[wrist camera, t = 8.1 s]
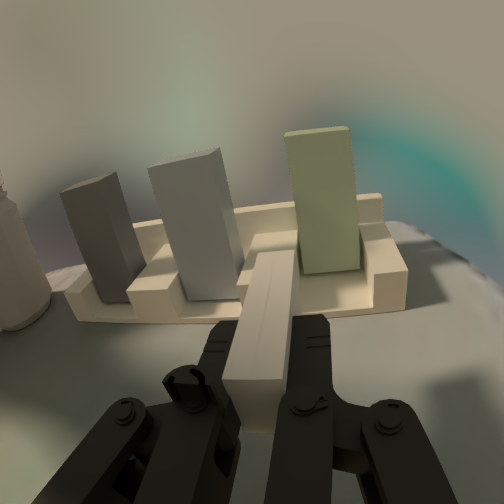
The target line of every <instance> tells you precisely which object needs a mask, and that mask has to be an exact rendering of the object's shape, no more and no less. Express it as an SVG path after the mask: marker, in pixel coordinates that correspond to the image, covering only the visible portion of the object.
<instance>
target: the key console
mask: <svg viewBox="0 0 504 504" xmlns="http://www.w3.org/2000/svg"><path fill="white" fill-rule="evenodd" d="M356 197H357V211H358V228H359V252H360V269H355V270H345V271H334V272H322V273H311V274H304V269H303V261H302V254H301V246H300V239H299V231H298V224H297V217H296V210H295V204H294V201H292V202H283V203H274V204H266V205H258V206H250V207H243V208H234V214H235V218H236V223H237V227H238V231H239V236H240V240H241V245H242V249H243V254H244V258H245V263H244V265H243V268H242V271H241V274H240V276H239V279H238V282H237V285H236V286H237V290H238V294H239V298H236V299H216V300H192V301H189V300H188V298H187V295H186V292H185V289H184V286H183V283H182V280H181V277H180V274H179V272H178V269H177V266H176V263H175V260H174V256H173V253H172V250H171V247H170V244H169V241H168V238H167V235H166V231H165V228H164V225H163V222H162V219H158V220H152V221H146V222H140V223H134V224H133V227H134V230H135V233H136V236H137V239H138V242H139V245H140V248H141V250H142V253H143V256H144V259H145V261H146V264H147V266H146V267H145V268H144V269H143V270H142V272H141V273H140V274H139V275H138V277H137V278H136V279H135V280H134V281H133V283H132V284H131V285H130V286H129V288H128V289H127V290H126V293H127V295H128V297H129V300H130V302H106V303H103V301H102V299H101V297H100V294H99V292H98V290H97V288H96V286H95V284H94V281H93V279H92V277H91V275H90V272H89V270H88V269H87V270H86V271H85V272H84V273H83V274H82V275H81V276H80V277H79V278H78V279H77V280H76V281H75V282H74V283H73V284H72V285H71V286H70V287H69V288H68V289H67V290H66V291H65V292H64V295H65V297H66V299H67V301H68V303H69V305H70V307H71V309H72V311H73V313H74V314H75V316H76V318H77V320H78V321H86V322H108V323H145V324H209V323H218V322H219V321H223V320H239V317H240V314H241V310H242V307H243V304H244V300H245V297H246V293H247V290H248V286H249V283H250V279H251V276H252V272H253V269H254V265H255V262H256V258H257V255H258V253H263V252H273V251H284V250H295V257H296V264H297V271H298V279H299V286H300V294H301V302H302V309H301V315H313V314H323V315H324V316H325V318H332V317H344V316H355V315H365V314H375V313H384V312H393V311H402V310H405V302H406V292H407V281H408V269H407V267H406V265H405V263H404V260H403V258H402V256H401V254H400V252H399V250H398V248H397V246H396V244H395V242H394V240H393V238H392V237H391V235H390V233H389V231H388V229H387V227H386V225H385V223H384V217H383V216H384V214H383V197H382V196H381V194H380V193H374V194H363V195H356Z"/></svg>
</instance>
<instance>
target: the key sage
mask: <svg viewBox="0 0 504 504" xmlns="http://www.w3.org/2000/svg"><path fill="white" fill-rule="evenodd" d="M284 141H285V147H286V153H287V159H288V165H289V171H290V177H291V184H292V190H293V197H294V204H295V210H296V217H297V224H298V231H299V239H300V246H301V254H302V261H303V269H304V274H311V273H322V272H334V271H345V270H355V269H360V252H359V228H358V211H357V197H356V184H355V174H354V163H353V154H352V145H351V137H350V130H349V129H348V128H347V127H346V126H338V127H327V128H319V129H309V130H301V131H293V132H286V133H285V135H284Z"/></svg>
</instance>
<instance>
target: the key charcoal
mask: <svg viewBox="0 0 504 504" xmlns="http://www.w3.org/2000/svg"><path fill="white" fill-rule="evenodd" d="M60 197H61V200H62V203H63V206H64V209H65V211H66V214H67V217H68V220H69V223H70V225H71V228H72V231H73V233H74V236H75V238H76V241H77V244H78V246H79V249H80V251H81V253H82V256H83V258H84V260H85V263H86V265H87V268H88V270H89V272H90V275H91V277H92V279H93V281H94V284H95V286H96V288H97V290H98V292H99V294H100V297H101V299H102V301H103V303H106V302H130V300H129V297H128V295H127V293H126V290H127V289H128V288H129V286H130V285H131V284H132V283H133V281H134V280H135V279H136V278H137V277H138V275H139V274H140V273H141V272H142V270H143V269H144V268H145V267H146V266H147V264H146V261H145V259H144V256H143V253H142V250H141V248H140V245H139V242H138V239H137V236H136V233H135V230H134V227H133V224H132V221H131V219H130V216H129V212H128V209H127V206H126V203H125V200H124V196H123V193H122V190H121V187H120V183H119V180H118V176H117V173H116V172H113V173H110V174H106V175H103V176H99V177H96V178H93V179H89V180H86V181H83V182H80V183H77V184H75V185H73V186H71V187H70V188H68V189H66V190H64V191H62V192H60Z"/></svg>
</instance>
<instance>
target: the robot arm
mask: <svg viewBox="0 0 504 504" xmlns="http://www.w3.org/2000/svg"><path fill="white" fill-rule="evenodd" d="M301 309H302V302H301V294H300V286H299V279H298V271H297V264H296V257H295V250H284V251H273V252H263V253H258V255H257V258H256V262H255V265H254V269H253V272H252V276H251V279H250V283H249V286H248V290H247V293H246V297H245V300H244V304H243V307H242V310H241V314H240V317H239V320H223V321H219V322H218V323H217V324H216V325H215V327H214V328H213V329H212V330H211V331H210V334H209V336H208V339H207V344H205V347H204V350H203V353H202V355H201V358H200V360H199V363H198V366H196V365H185V366H181V367H179V368H176V369H174V370H172V371H171V372H170V373H168V374H167V375H166V376H165V378H164V379H163V381H162V383H163V385H164V387H165V388H166V390H167V392H168V393H169V395H170V397H171V398H172V400H173V401H172V402H169V403H165V404H160V405H154V406H148V407H145V405H144V404H143V402H141V401H140V400H138V399H136V398H131V397H129V398H123V399H120V400H118V401H116V402H115V403H114V404H113V405H111V406H110V407H109V408H108V410H107V411H106V412H105V413H104V415H103V416H102V417H101V418H100V419H99V421H98V422H97V423H96V424H95V425H94V427H93V428H92V429H91V430H90V432H89V433H88V434H87V435H86V436H85V438H84V439H83V440H82V441H81V443H80V444H79V445H78V446H77V447H76V449H75V450H74V451H73V452H72V454H71V455H70V456H69V457H68V459H67V460H66V461H65V462H64V463H63V465H62V466H61V467H60V468H59V470H58V471H57V472H56V473H55V475H54V476H53V477H52V478H51V480H50V481H49V482H48V483H47V485H46V486H45V487H44V488H43V489H42V491H41V492H40V493H39V494H38V496H37V497H36V498H35V499H34V501H33V502H32V503H31V504H229V501H230V496H231V492H232V487H233V483H234V478H235V474H236V469H237V464H238V459H239V455H240V450H241V442H240V440H239V438H238V435H239V430H240V426H241V427H242V429H243V431H244V433H265V434H275V435H274V442H273V449H272V455H271V462H270V469H269V475H268V481H267V487H266V494H265V500H264V504H331V491H332V469H336V470H340V471H344V472H349V473H353V474H356V477H357V480H358V483H359V487H360V490H361V493H362V496H363V500H364V503H365V504H458V502H457V500H456V498H455V495H454V493H453V491H452V488H451V486H450V484H449V482H448V479H447V477H446V475H445V473H444V471H443V468H442V466H441V464H440V462H439V460H438V458H437V456H436V453H435V451H434V449H433V447H432V445H431V443H430V441H429V439H428V437H427V435H426V433H425V431H424V429H423V427H422V425H421V423H420V421H419V419H418V417H417V415H416V413H415V411H414V410H413V409H412V408H411V407H410V405H408V404H406V403H405V402H403V401H401V400H394V399H387V400H381V401H379V402H377V403H375V404H373V405H371V406H370V407H364V406H358V405H354V404H350V403H347V402H346V401H344V400H342V399H341V398H340V397H339V396H338V395H337V394H336V393H335V391H334V389H333V384H332V361H331V339H330V323H329V322H328V321H327V319H326V318H325V316H324V315H323V314H313V315H301Z"/></svg>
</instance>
